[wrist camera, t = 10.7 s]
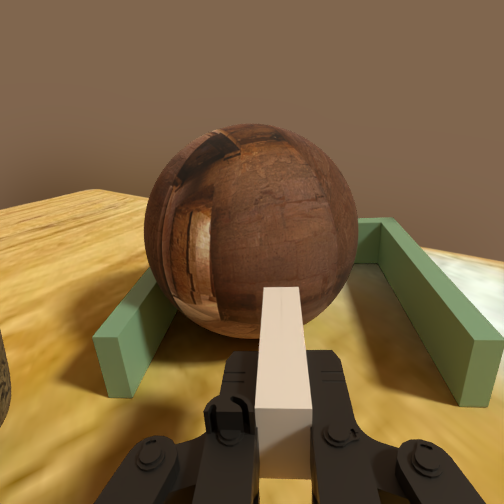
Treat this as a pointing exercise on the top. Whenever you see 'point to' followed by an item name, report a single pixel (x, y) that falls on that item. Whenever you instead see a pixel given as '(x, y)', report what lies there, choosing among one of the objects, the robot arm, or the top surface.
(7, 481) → the top surface
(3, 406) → the cup
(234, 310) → the wooden sphere
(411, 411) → the top surface
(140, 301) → the green bracket
